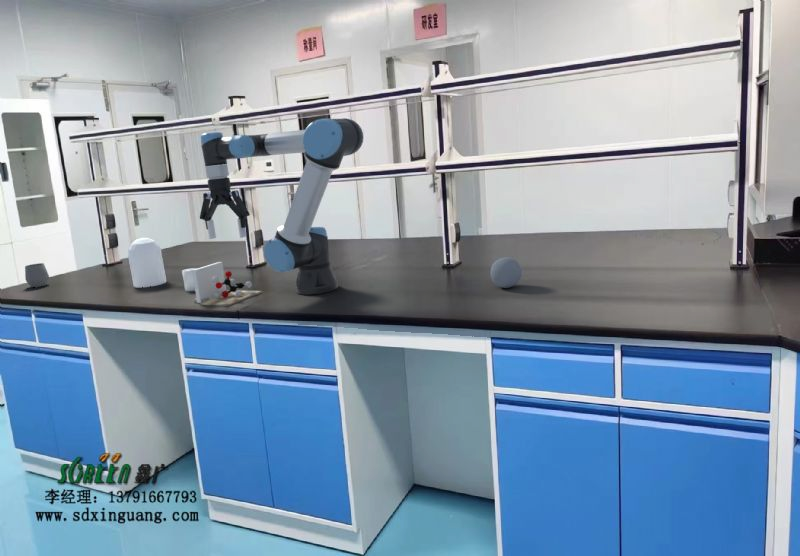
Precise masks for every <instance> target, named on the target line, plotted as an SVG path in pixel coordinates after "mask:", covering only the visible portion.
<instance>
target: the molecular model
mask: <svg viewBox="0 0 800 556" xmlns="http://www.w3.org/2000/svg"><path fill="white" fill-rule="evenodd" d="M232 275H233V273H232V271H230V270H226V271H225V272H224V276H225V277H226V278H225V280H224V282H223V283H220V282H218V281H219V278H218V277H216V276H215V277H213V278H212V281H213V282H214V283H216V288H218V289H219V288H221V287H222V285H224V284H225V285H226V286H227V287H228V288H229V290H230V291H228V292H227V291H223V292H222V293H221V294H220V293H219V292H216V293H215V294H214V296H215V298H220V296H223V297H227V296H228V293H230V292H236V296H238V297H240V296H241V295H242V292H241V291H243V289H244V287H246V288H249V289H250V288H251V287H252V285H253V284H252V282H251V281H249V280H248V281H246V282H245V283H243V282H238V283H237V282H236V280H235V279H234V278H231V277H232Z"/></svg>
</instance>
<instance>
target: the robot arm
mask: <svg viewBox="0 0 800 556" xmlns="http://www.w3.org/2000/svg"><path fill="white" fill-rule="evenodd" d="M200 142H201V143H200V144H201V151H202V155H203V160H204V167H205V168H204V169H205V174H206V175H205V176H206V178H207V179H208V180H207V185H208V186H207V187H208V190H209V192H204V193H202V194H203V196H202V198H203V200H202V205H201V210H200V214H199V219H200V220H203V221H205V222H204V223H205V226H206V227H205V228H206V230H207V232H208V233H207V234H208V238H209V240H212V239H216V238H217V235H216V228H215V224H214V220H213V216H214V215H215V212H216V210H217V208H218V206H220V205H226V206H228V207H229V208H230V210H231V211H232V212H233V213H234V214H235V215H236V217H238V218H237V219H236V220H237V221H236V222H237V227H238V232H239V238H240V239H241V238H242V239H243V238H246V237H247V230H246V228H247V221H246V218H247V217H249V216H250V215H251V214H250V211H249V210H248V208H247V206H246V205H245V203H244V202H243V199H242V198H241V196H240V192H239V190H237V189H236V190H231V187H232V186H231V180H230V179H231V178H229V177H228V176H229V175H230V174H229V168H228V161H227V160H236V159H246V158H247V159H248V158H254V157H256V158H257V157H268V156H276V155H289V154H291V155H292V154H300V153H301V154H303V156H304V158H305V160H306V162H305V165H304V168H303V171H302V174H301V176H300V178H299V182H298V185H297V187H296V190H295V193H294V196H293V199H292V201H291V205H290V208H289V210H288V212H287V216H286V218H285V221H284V224H281V225H279V226H278V227H277V229H276V233H275V236H274V238H271V239H269V240H268V241H267V242H266V243H265V244H264V247H263V254H264V255H263V256H264V259H265V260H266V262H267V264H268V266H269V267H270V268H271V269H272V270H274V271H276V272H277V273H286V272H290V271H293V270H295V269H298V270H297V271H298V272H297V276H296V277H297V278H296V282H295V293H297V294H298V295H303V296H305V295H320V294H325V293H329V292H332V291H333V292H334V291H335V290H337V289H338V288H339V284H338V280H337V278H336V276H335V275H336V274H335V273H334V272H333V269H332V266H331V259H330V249H329V240H328V238H329V237H328V233H327V230H326V228H325V227H324V226H313V223H314V220H315V218H316V215H317V212H318V210H319V207H320V205H321V203H322V199H323V197H324V194H325V193H326V189H327V187H328V184H329V181H330V178H331V176H332V173H333V171H336V170H338V169H340V167H341V163H342V161H343V158H344V157H345V156H347V157H348V156H351V155H353V154H356V153H357V152H358V151H359V150H361V149H360V148H362V145H363V143H364V132H363V129H362V127H361V126H360V125H359V124H358V123H357V122H356V121H355V120H353V119H350V118H329V117H328V118H320V119H316V120H314V121H312V122H310V123H309V124H308V125H307V127H305V129H300V130H299V129H298V130H292V131H291V130H290V131H283V132H272V133H271V132H270V133H262V134H248V135H247V134H235V135H231V136H226V137H225V136H223V133H222V132H220V131H218V132H215V131H214V132H205V133H202V134H201V136H200Z"/></svg>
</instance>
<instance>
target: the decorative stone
mask: <svg viewBox="0 0 800 556" xmlns="http://www.w3.org/2000/svg"><path fill="white" fill-rule="evenodd" d="M489 271H490V278H491V280H492V282H493V283H494V285H496V286H497V287H500V288H504V289H509V288H512V287H514V286H515V285H517V284H518V283H519V281H520V280H521V277H522V267H521V265H520V264H519V263H518V261H517V260H515V259H514V258H511V257H507V256H504V257H501V258H498V259H496V260H495V261H494V262H493V263H492V265H491V267H490V270H489Z"/></svg>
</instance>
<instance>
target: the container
mask: <svg viewBox="0 0 800 556" xmlns="http://www.w3.org/2000/svg"><path fill="white" fill-rule="evenodd" d="M127 253H128V254H127V259H128V263H129V268H130V273H131V278H132V284H133V287H134V288H140V289H141V288H142V287H143V288H149V287H150V286H151V287H155V286H160V285H164V284H166V283H167V277H166V271H165V266H164V260H163V254H162V253H163V252H162V249H161V246H160V244H159V243H158V242H157V241H156V240H154V239H152V238H150V237H140V238H137V239H135V240H134V241H133V242H131V244H130V246H129V248H128V252H127Z"/></svg>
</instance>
